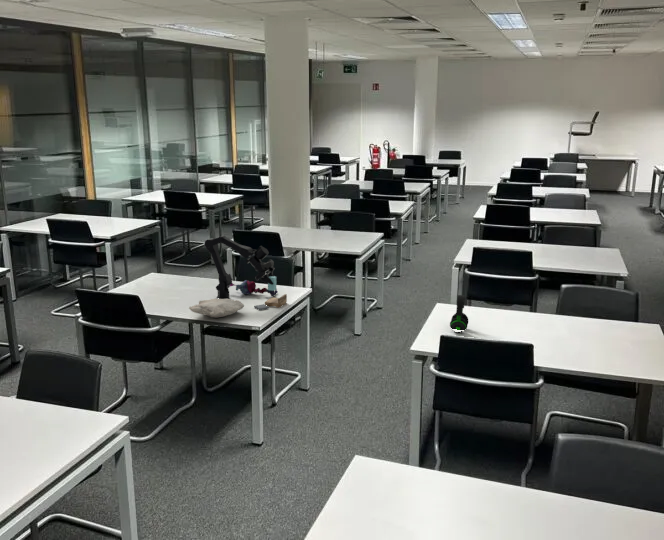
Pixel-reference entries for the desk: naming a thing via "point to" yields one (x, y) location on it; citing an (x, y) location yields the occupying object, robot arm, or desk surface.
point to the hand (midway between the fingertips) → (274, 283)
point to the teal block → (273, 279)
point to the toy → (252, 288)
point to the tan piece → (277, 301)
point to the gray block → (261, 307)
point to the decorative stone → (217, 307)
